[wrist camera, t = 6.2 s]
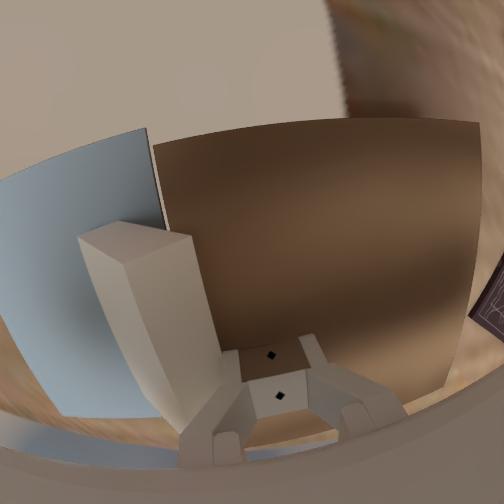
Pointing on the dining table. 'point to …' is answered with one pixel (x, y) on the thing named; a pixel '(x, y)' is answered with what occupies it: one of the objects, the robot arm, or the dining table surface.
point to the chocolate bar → (492, 304)
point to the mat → (73, 271)
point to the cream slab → (157, 314)
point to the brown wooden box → (334, 243)
